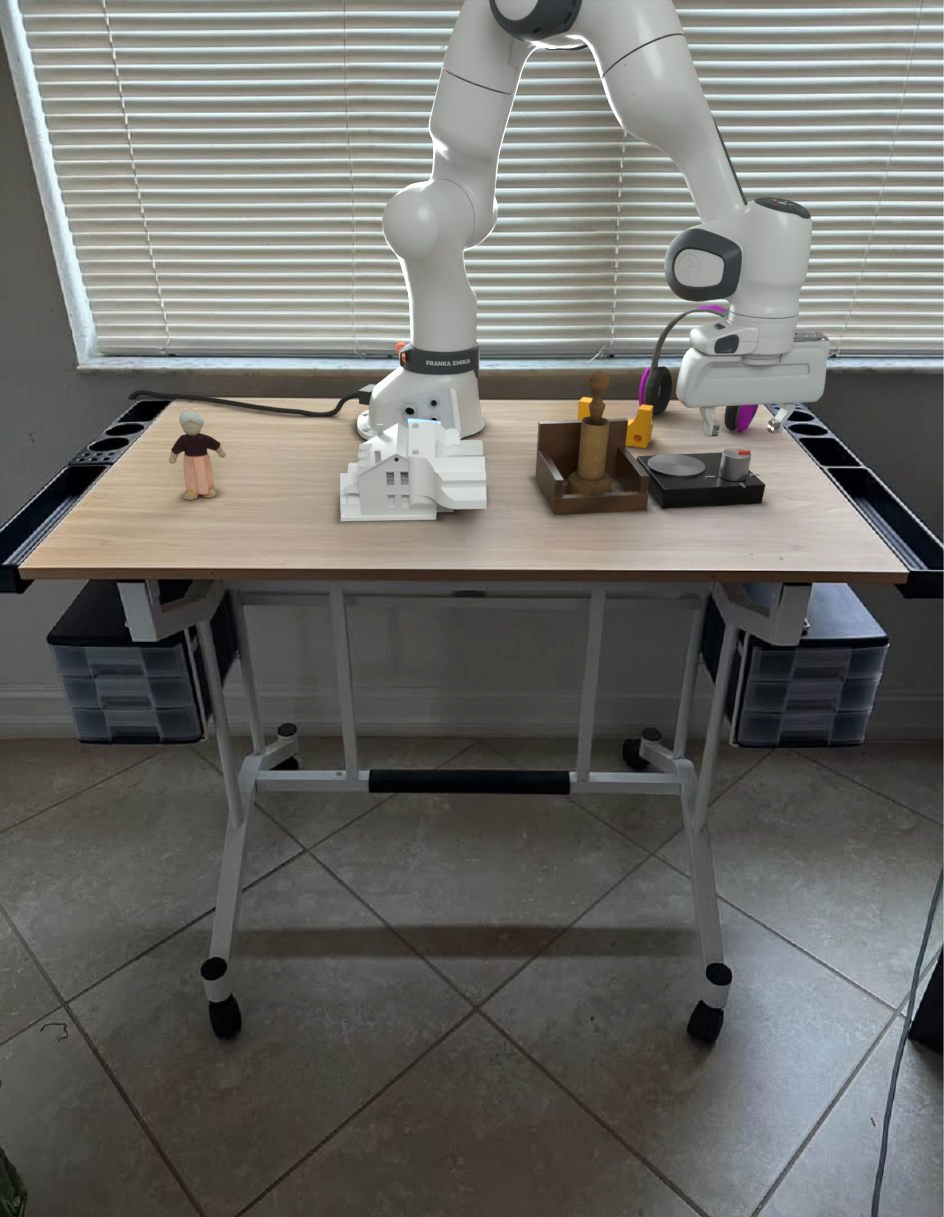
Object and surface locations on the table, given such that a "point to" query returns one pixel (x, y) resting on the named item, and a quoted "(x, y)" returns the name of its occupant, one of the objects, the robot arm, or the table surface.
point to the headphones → (659, 380)
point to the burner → (676, 465)
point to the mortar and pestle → (593, 443)
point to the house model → (413, 475)
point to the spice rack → (561, 461)
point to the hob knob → (735, 464)
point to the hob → (702, 486)
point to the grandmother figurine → (196, 455)
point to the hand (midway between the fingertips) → (742, 434)
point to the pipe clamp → (637, 427)
